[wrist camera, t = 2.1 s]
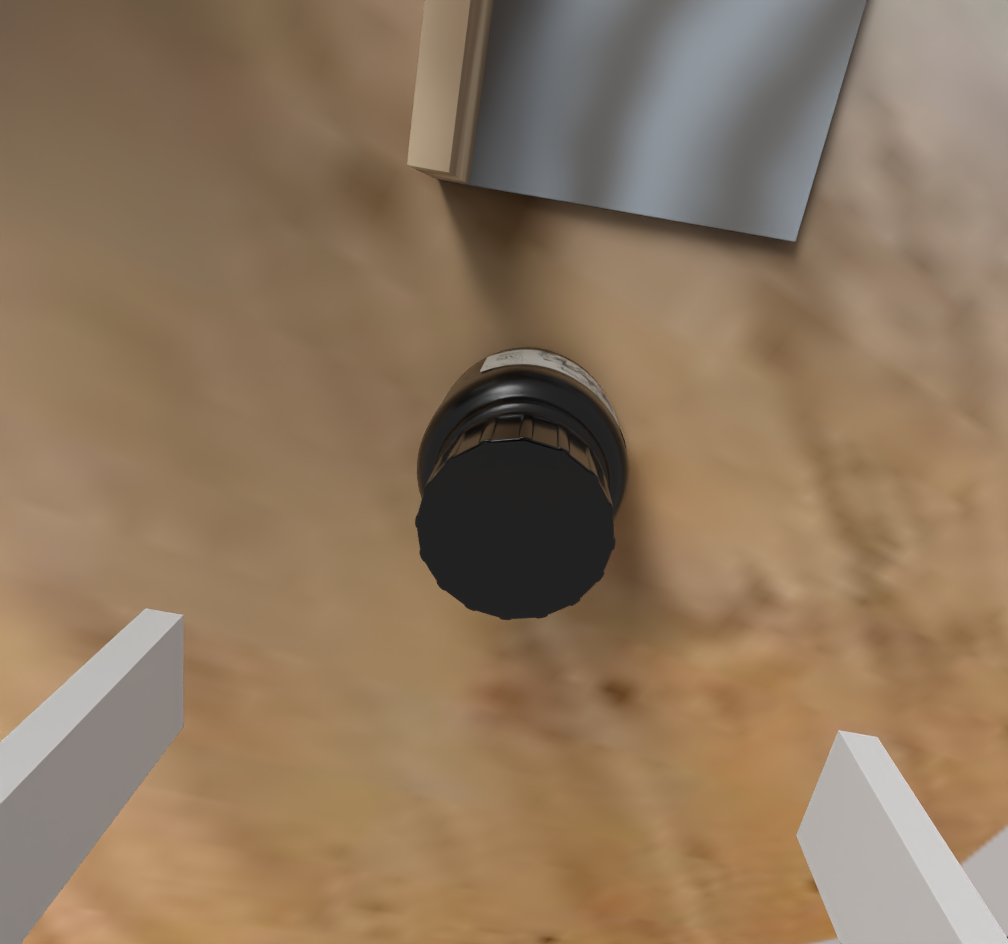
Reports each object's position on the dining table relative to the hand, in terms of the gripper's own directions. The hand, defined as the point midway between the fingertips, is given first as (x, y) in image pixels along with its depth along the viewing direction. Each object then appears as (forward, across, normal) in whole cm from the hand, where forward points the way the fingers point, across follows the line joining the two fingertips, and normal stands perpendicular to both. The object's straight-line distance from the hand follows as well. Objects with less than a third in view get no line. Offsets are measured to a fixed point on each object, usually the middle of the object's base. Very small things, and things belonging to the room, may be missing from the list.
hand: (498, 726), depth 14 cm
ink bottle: (+22, 0, 0) cm, 22 cm away
